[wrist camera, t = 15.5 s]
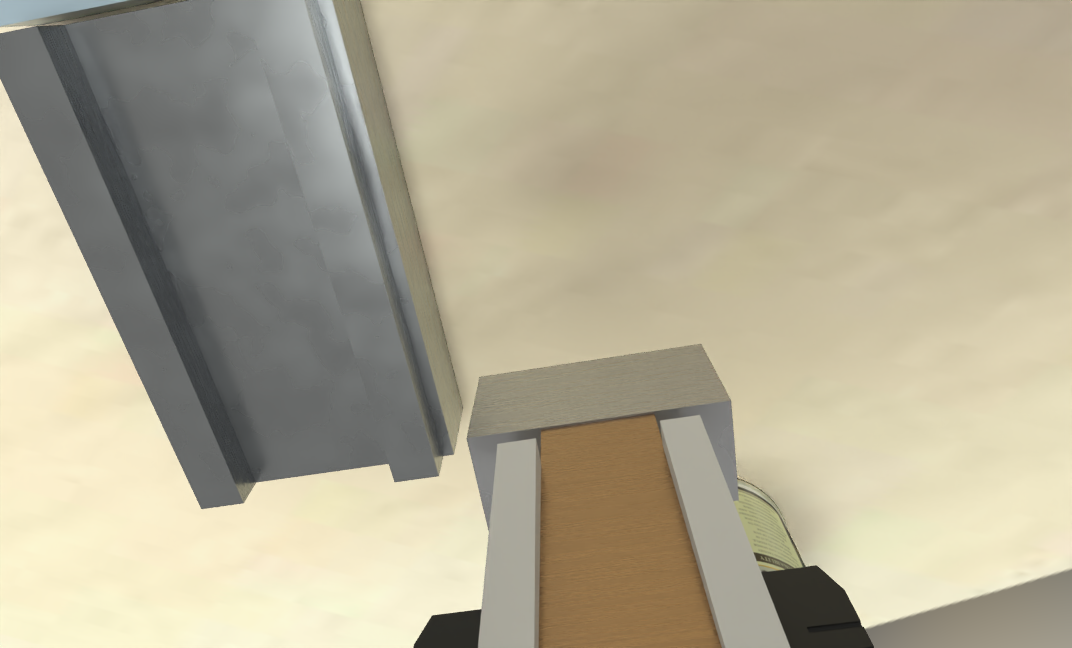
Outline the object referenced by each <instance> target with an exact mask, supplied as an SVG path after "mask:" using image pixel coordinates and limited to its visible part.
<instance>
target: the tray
mask: <svg viewBox="0 0 1072 648" xmlns="http://www.w3.org/2000/svg"><path fill="white" fill-rule="evenodd" d="M159 1H164V0H0V27H11V26H35V25H44V24H49V23H54V22H59V21H64V20H69V19H74V18H79V17H84V16H89V15H94V14H99V13H104V12H109V11H114V10H119V9H124V8H129V7H134V6H139V5H144V4H149V3H154V2H159Z"/></svg>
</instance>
